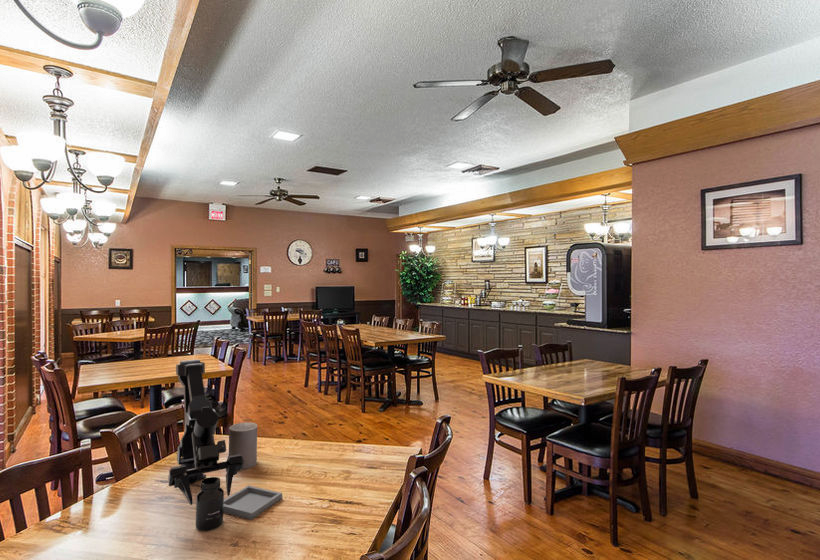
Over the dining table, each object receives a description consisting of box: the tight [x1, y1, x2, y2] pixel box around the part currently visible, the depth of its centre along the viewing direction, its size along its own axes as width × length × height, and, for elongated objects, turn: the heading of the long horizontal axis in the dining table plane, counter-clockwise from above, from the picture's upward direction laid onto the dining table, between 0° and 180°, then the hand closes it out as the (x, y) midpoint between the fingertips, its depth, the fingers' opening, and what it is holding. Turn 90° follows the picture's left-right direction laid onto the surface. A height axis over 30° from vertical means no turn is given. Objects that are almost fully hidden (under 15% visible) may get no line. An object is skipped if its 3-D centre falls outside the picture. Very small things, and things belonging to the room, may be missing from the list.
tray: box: [223, 485, 283, 521], centre depth 132 cm, size 13×13×2 cm
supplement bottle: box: [195, 476, 225, 532], centre depth 121 cm, size 7×7×12 cm
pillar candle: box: [228, 422, 258, 471], centre depth 161 cm, size 10×10×15 cm
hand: (210, 499), depth 120 cm, fingers open, 9 cm apart
